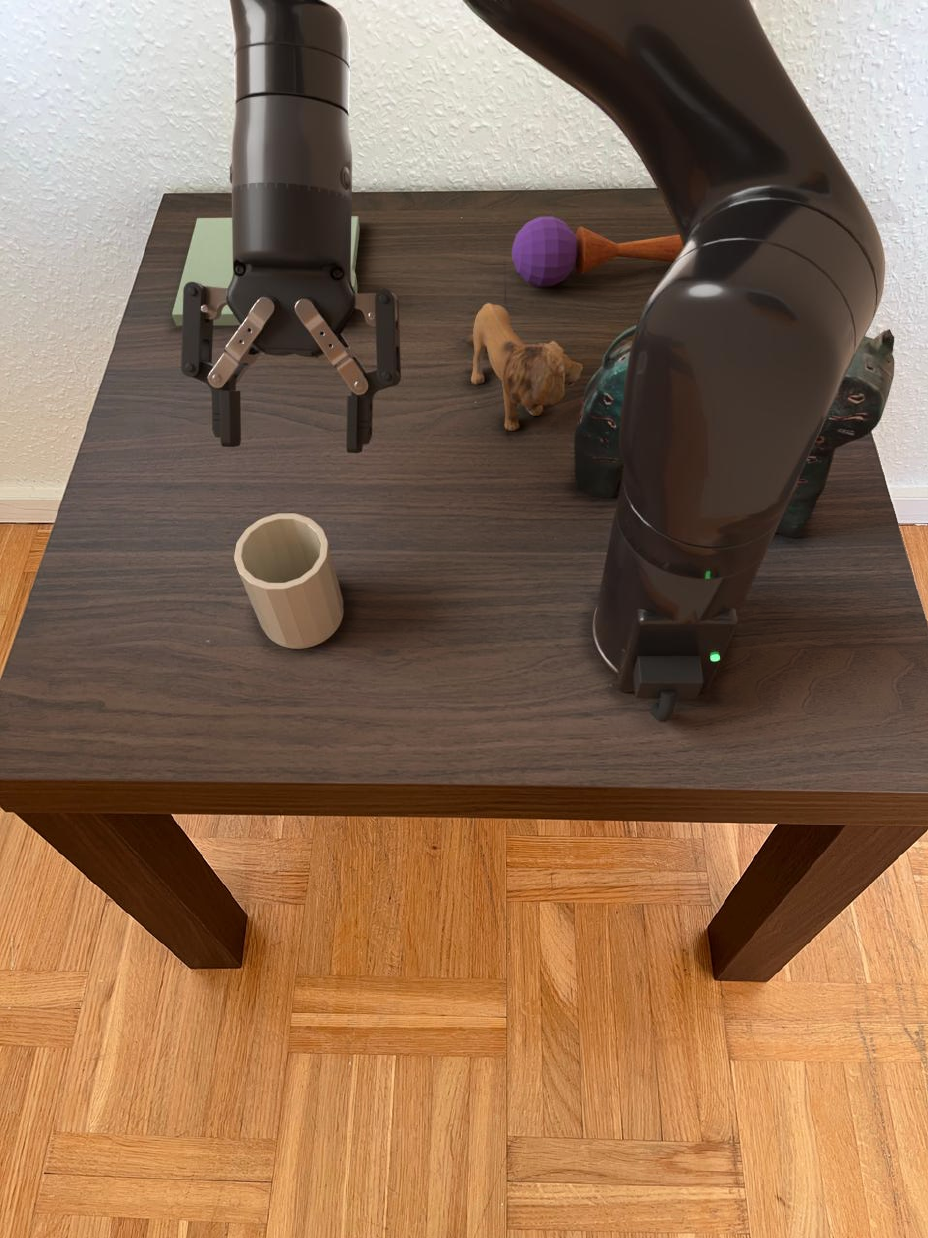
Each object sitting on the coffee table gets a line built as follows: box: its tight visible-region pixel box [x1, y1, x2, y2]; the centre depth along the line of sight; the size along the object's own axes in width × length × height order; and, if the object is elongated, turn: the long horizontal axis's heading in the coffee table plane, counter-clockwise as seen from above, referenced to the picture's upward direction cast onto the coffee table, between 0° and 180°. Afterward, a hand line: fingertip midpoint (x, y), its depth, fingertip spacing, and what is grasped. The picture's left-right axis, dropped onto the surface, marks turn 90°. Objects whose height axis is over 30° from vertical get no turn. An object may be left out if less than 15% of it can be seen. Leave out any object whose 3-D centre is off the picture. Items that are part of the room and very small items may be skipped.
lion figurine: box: [460, 302, 584, 432], centre depth 75 cm, size 15×5×9 cm, turn 33°
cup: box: [233, 512, 345, 650], centre depth 64 cm, size 6×6×8 cm
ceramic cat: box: [573, 324, 896, 539], centre depth 63 cm, size 20×6×20 cm, turn 73°
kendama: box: [511, 216, 684, 288], centre depth 84 cm, size 6×6×20 cm
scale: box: [171, 215, 361, 327], centre depth 86 cm, size 15×17×3 cm
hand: (292, 449), depth 62 cm, fingers open, 8 cm apart
